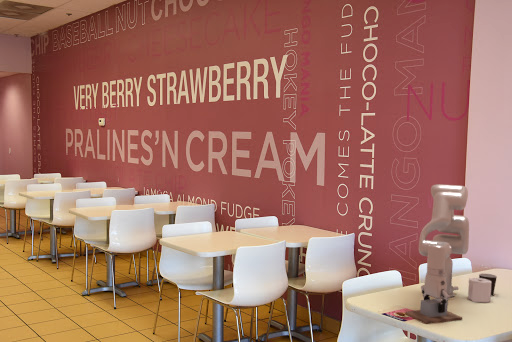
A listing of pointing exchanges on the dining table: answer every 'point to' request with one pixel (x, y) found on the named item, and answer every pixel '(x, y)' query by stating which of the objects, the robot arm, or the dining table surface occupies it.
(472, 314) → the dining table surface
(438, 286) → the robot arm
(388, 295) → the dining table surface
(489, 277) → the coffee mug
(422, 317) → the housing base
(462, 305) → the dining table surface
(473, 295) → the toilet tissue
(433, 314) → the block
